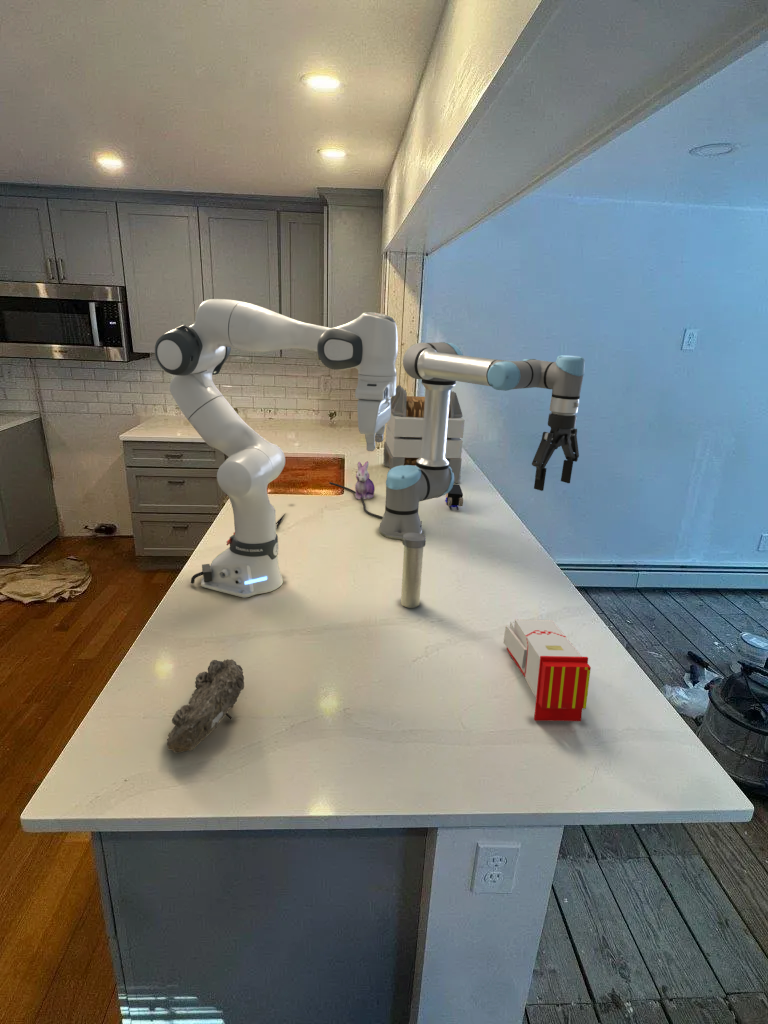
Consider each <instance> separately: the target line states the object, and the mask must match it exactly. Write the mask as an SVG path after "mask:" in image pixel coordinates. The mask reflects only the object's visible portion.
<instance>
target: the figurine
mask: <svg viewBox="0 0 768 1024" xmlns="http://www.w3.org/2000/svg"><path fill="white" fill-rule="evenodd" d="M368 468H369V460H367V461H365V463H364V464H363V465H362V462H360V461H358V462H357V472H356V474H355V478H356V480H357V481H356V483H355V488H354V489H355V490H354V491H355V492H356V493H355V494H354V497H355V499H356V500H361V499H360V498H361V497H362V498H363V500H364V501H365V500H370V499H372V498H374V496H375V491H376V488H375V484H374V482H373V481H372V479H370V473H369V471H368Z"/></svg>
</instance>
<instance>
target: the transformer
mask: <svg viewBox="0 0 768 1024" xmlns="http://www.w3.org/2000/svg"><path fill="white" fill-rule="evenodd" d="M407 394H408V393H407V390H406V389H404V388H403V387H402V385H399V384H398V385H396V395H395V396H392V397H391V417H390V420H389V421H388V422H387V423H386V425H385V438H384V441H383V466H384V467H388V468H389V470H390V469H392V468H394V467H396V466H401V465H404V466H405V465H413V466H416V461H417V459H418V458H420V457H421V449H422V434H423V419H424V404H425V396H415V395H414V396H413V395H412V396H411V395H407ZM464 429H465V419H464V418H463V411H462V408H461V405H460V402H459V398H458V395H457V392H455V391H453V390H451V392H450V404H449V416H448V428H447V441H446V453H445V458H446V459H447V461H448V462H449V466H450V467H451V469H452V473H454V484H459V483H461V472H462V461H463V460H462V453H463V442H464V441H463V440H462V439H463V438H464V431H465V430H464Z"/></svg>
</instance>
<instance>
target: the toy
mask: <svg viewBox="0 0 768 1024" xmlns="http://www.w3.org/2000/svg"><path fill="white" fill-rule="evenodd" d="M503 644H504V645H505V647H506V650H507V653H508V654H509V656H510V657H511V658H512V660H513V662H514V663H515V665H516V667H517V668H518V669H519V671H520V672H521V674H522V676H523V677H524V678H525V681H526V683H527V684H528V686H529V688H530V690H531V692H532V694H533V695H534V697H535V706H534V717H533V720H534V721H536V722H539V721H540V722H582V716H583V715H582V714H583V709H587V704H588V703H587V701H588V695H589V685H590V677H591V669H592V666H590V664H589V657H588V656H582V654H581V653H580V652H579V651H578V649H576V647H575V646H574V645H573V643H572V642H571V641H570V640H569V639H568V637H567V636H566V635H565V634H564V633H563V631H562V630H561V629H560V628H559V626H558V625H557V624H556V623H555V621H554V620H553V619H524V618H523V619H521V618H518V619H516V618H515V619H514V621H510V622H509V624H506V625H505V629H504V637H503Z"/></svg>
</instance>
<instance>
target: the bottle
mask: <svg viewBox="0 0 768 1024" xmlns="http://www.w3.org/2000/svg"><path fill="white" fill-rule="evenodd" d="M423 557H424V547H423V548H418V549H413V548H408V547H405V546H404V545H403V561H402V575H401V576H402V578H401V595H400V605H401V606H403V607H405V608H408V609H414V608H417V607H419V606H420V598H421V586H422V572H423V571H422V570H423Z"/></svg>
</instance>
